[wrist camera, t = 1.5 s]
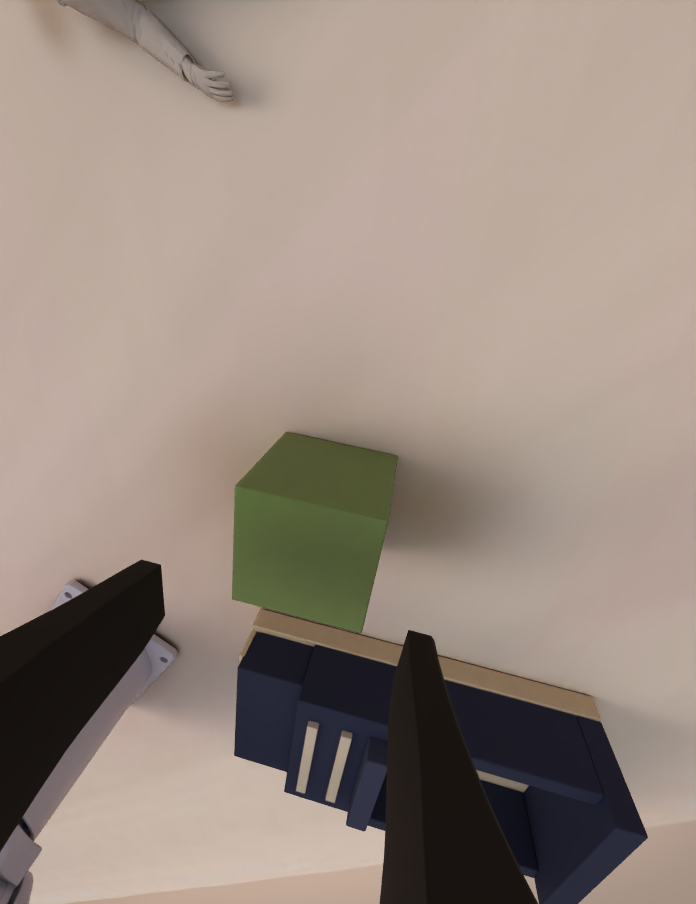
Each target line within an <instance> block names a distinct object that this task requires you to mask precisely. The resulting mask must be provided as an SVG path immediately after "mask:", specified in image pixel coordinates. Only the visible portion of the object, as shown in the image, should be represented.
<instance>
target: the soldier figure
mask: <svg viewBox="0 0 696 904" xmlns="http://www.w3.org/2000/svg"><path fill="white" fill-rule="evenodd" d="M57 1H58V3H59V4H60V5H62V6H63V7H65V6H66V5H67V6H70V7H72V8H74V9H75V10H77V11H79V12H81V13H83V14H85V15H87V16H89V17H91V18H93V19H95V20H98V21H100V22H102V23H103V24H105V25H106V26H108V27H110V28H112V29H115V30H118V31H120V32H121V33H123V34H124V35H126V36H128V37H129V38H130V39H132V40H133V41H134V42H136V43H138V44H139V45H140V47H141V48H142V49H143V50H145V51H147V52H148V53H150V54H151V55H152V56H153V57H155V58H156V59H158V60H159V61H161V62H162V63H164V64H165V65H166V66H168V67H169V68H171V69H172V70H173V71H174V72H175V73H176V74H177V75H179V76H180V77H181V78H183V79H184V80H185V81H187V82H191V83H192V84H193V85H194V86H195V87H196V88H198V89H200V90H202V91H203V92H204V93H206V94H207V95H208V96H209V97H211V98H213V99H216V100H218V101H222V102H227V101H233V98H232V97H231V96H230V95H233V93H232V92H231V91H230V90H219V89H226V88H229V87H230V84H229V83H228V82H216V81H214V80H212V79H211V78H220V77H224V73H223V72H222V71H207V70H205V69H203V68H202V67H201V66H200V65H198V64H196V62H195V59H194V58H193V57H192V55H191V54H189V52H188V51H187V50H186V49H185V48H184V47H183V46H182V45H181V43H180V42H179V41H178V40H177V39H176V38H175V37H174V36H173V35H172V34H171V32H170V31H169V30H168V29H167V28H166V27H165V25H164V24H163V23H162V22H161V21H160V20H158V19H157V18H156V16H155V15H153V14H152V13H150V12H148V10H147V9H146V7H145V6H144V5H142V4H141V3H140V2H138V1H136V0H57Z"/></svg>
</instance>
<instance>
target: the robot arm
mask: <svg viewBox="0 0 696 904" xmlns="http://www.w3.org/2000/svg"><path fill="white" fill-rule="evenodd" d="M164 616H165V610H164V598H163V585H162V573H161V565H160V564H156V563H152V562H148V561H144V560H140V561H138V562H136V563H135V564H133V565H131V566H129V567H127V568H126V569H124V570H122V571H120V572H119V573H117V574H115V575H113V576H112V577H110V578H108V579H106V580H105V581H103V582H101V583H99V584H98V585H96V586H94V587H92V588H91V589H88V588H86V587H85V586H83V585H82V584H80V583H79V582H77V581H70V582H69V583H67V584H66V585H65V586H64V588H63V590H62V591H61V593H60V595H59V596H58V598H57V600H56V602H55V603H54V605H53V607H52V608H51V610H50V611H49V612H47V613H45V614H43V615H41V616H39V617H37V618H35V619H33V620H31V621H29V622H28V623H26V624H24V625H22V626H20V627H18V628H16V629H14V630H12V631H10V632H8V633H6V634H4V635H2V636H0V904H29V901H30V895H31V891H32V886H33V875H32V873H31V872H29V871H28V870H29V868H30V867H31V865H32V864H33V862H34V861H35V859H36V858H37V856H38V855H39V853H40V852H41V850H42V847H40V846H39V845H38V844H36V843H35V842H34V840H35V839H36V838H37V836H38V835H39V833H40V832H41V830H42V829H43V828H44V826H45V825H46V823H47V822H48V820H49V819H50V818H51V816H52V815H53V813H54V812H55V810H56V809H57V808H58V806H59V805H60V803H61V802H62V800H63V799H64V798H65V796H66V795H67V793H68V792H69V790H70V789H71V788H72V786H73V785H74V783H75V782H76V780H77V779H78V778H79V776H80V775H81V773H82V772H83V770H84V769H85V768H86V766H87V765H88V763H89V762H90V760H91V759H92V758H93V756H94V755H95V753H96V752H97V750H98V749H99V748H100V746H101V745H102V743H103V742H104V740H105V739H106V738H107V736H108V735H109V733H110V732H111V730H112V729H113V728H114V726H115V725H116V723H117V722H118V721H119V719H120V718H121V716H122V715H123V713H124V712H125V711H126V709H127V708H128V707H129V706H130V705H131V704H132V703H133V702H134V701H135V700H136V699H137V698H138V697H139V696H140V695H141V694H142V693H143V692H144V691H145V690H146V689H147V688H148V687H149V686H150V685H151V684H152V682H153V681H154V680H155V679H156V678H157V677H158V676H159V675H160V674H161V673H162V672H163V671H164V670H165V669H166V668H167V667H168V666H169V665H170V664H171V663H172V662H173V661H174V660H175V658H176V657H177V655H178V653H177V650H176V649H175V648H174V647H172V646H171V645H169V644H168V643H166V642H165V641H163V640H162V639H161V638H159V637H158V636H156V635H155V634H154V633H155V631H156V630H157V628H158V626H159V625H160V623H161V621H162V620H163V618H164ZM380 904H538V903H537V901H536V899H535V897H534V895H533V893H532V891H531V889H530V887H529V885H528V883H527V881H526V879H525V878H524V875H523V873H522V871H521V869H520V867H519V865H518V863H517V861H516V859H515V857H514V854H513V852H512V850H511V848H510V846H509V844H508V842H507V840H506V838H505V835H504V833H503V831H502V829H501V827H500V824H499V822H498V820H497V818H496V816H495V814H494V811H493V809H492V807H491V804H490V802H489V800H488V798H487V795H486V793H485V790H484V788H483V786H482V783H481V781H480V778H479V776H478V773H477V771H476V768H475V766H474V763H473V761H472V758H471V756H470V753H469V751H468V748H467V745H466V743H465V740H464V737H463V734H462V732H461V729H460V726H459V723H458V720H457V717H456V714H455V712H454V709H453V706H452V703H451V700H450V697H449V693H448V690H447V687H446V684H445V680H444V677H443V674H442V670H441V666H440V663H439V659H438V655H437V651H436V647H435V642H434V639H433V638H432V636H429V635H426V634H422V633H418V632H414V631H410V630H408V633H407V636H406V640H405V643H404V646H403V649H402V652H401V655H400V659H399V662H398V665H397V668H396V671H395V674H394V678H393V684H392V692H391V701H390V710H389V719H388V747H387V789H386V831H385V850H384V863H383V874H382V886H381V896H380Z"/></svg>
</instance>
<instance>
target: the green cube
mask: <svg viewBox="0 0 696 904" xmlns="http://www.w3.org/2000/svg"><path fill="white" fill-rule="evenodd" d="M397 459H398V457H397V456H395V455H390V454H386V453H381V452H377V451H372V450H367V449H363V448H358V447H353V446H349V445H344V444H339V443H335V442H330V441H325V440H321V439H316V438H311V437H307V436H302V435H298V434H293V433H288V432H285V433H284V435H283V436H282V437H281V438H280V439H279V440H278V441H277V442H276V443H275V444H274V445H273V446H272V447H271V448H270V449H269V451H268V452H267V453H266V454H265V455H264V456H263V457H262V458H261V459H260V460H259V461H258V462H257V463H256V464H255V465H254V466H253V468H252V469H251V470H250V471H249V472H248V473H247V474H246V475H245V476H244V477H243V478H242V479H241V480H240V481H239V482H238V484H237V485H236V486H235V506H234V543H233V580H232V599H233V600H237V601H241V602H244V603H248V604H252V605H256V606H259V607H263V608H267V609H271V610H275V611H278V612H282V613H286V614H290V615H293V616H297V617H301V618H305V619H308V620H312V621H316V622H320V623H323V624H327V625H331V626H335V627H338V628H342V629H346V630H350V631H354V632H357V633H361V632H362V629H363V625H364V621H365V617H366V613H367V608H368V604H369V600H370V596H371V592H372V588H373V583H374V579H375V575H376V571H377V567H378V563H379V558H380V554H381V550H382V546H383V542H384V537H385V533H386V529H387V525H388V520H389V513H390V506H391V499H392V493H393V486H394V479H395V472H396V465H397Z"/></svg>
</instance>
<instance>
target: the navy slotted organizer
mask: <svg viewBox="0 0 696 904" xmlns="http://www.w3.org/2000/svg"><path fill="white" fill-rule="evenodd" d="M402 649H403V646H399V645H395V644H392V643H388V642H384V641H380V640H377V639H373V638H369V637H365V636H361V635H358V634H354V633H350V632H346V631H343V630H339V629H335V628H331V627H328V626H324V625H320V624H316V623H313V622H309V621H305V620H301V619H298V618H294V617H290V616H286V615H283V614H279V613H275V612H271V611H268V610H264V609H261V610H260V612H259V614H258V616H257V618H256V620H255V622H254V624H253V629H252V631H251V633H250V635H249V637H248V639H247V641H246V643H245V645H244V647H243V649H242V651H241V653H240V655H239V666H238V678H237V703H236V727H235V752H234V755H235V756H237V757H240V758H243V759H247V760H250V761H253V762H256V763H260V764H263V765H266V766H269V767H272V768H276V769H279V770H282V771H285V772H287V777H286V783H285V790H284V792H286V793H290V794H293V795H296V796H299V797H302V798H305V799H309V800H312V801H315V802H318V803H321V804H324V805H328V806H331V807H334V808H337V809H340V810H343V811H347V812H348V815H347V822H346V825H347V826H349V827H352V828H355V829H358V830H361V831H365V830H366V828H367V825H368V826H371V827H374V828H378V829H381V830H384V831H386V789H387V747H388V719H389V710H390V701H391V692H392V684H393V678H394V674H395V671H396V668H397V665H398V662H399V659H400V655H401V652H402ZM438 659H439V663H440V666H441V670H442V674H443V677H444V680H445V684H446V687H447V690H448V693H449V697H450V700H451V703H452V706H453V709H454V712H455V714H456V717H457V720H458V723H459V726H460V729H461V732H462V734H463V737H464V740H465V743H466V745H467V748H468V751H469V753H470V756H471V758H472V761H473V763H474V766H475V768H476V771H477V773H478V776H479V778H480V781H481V783H482V786H483V788H484V790H485V793H486V795H487V798H488V800H489V802H490V804H491V807H492V809H493V811H494V814H495V816H496V818H497V820H498V822H499V824H500V827H501V829H502V831H503V833H504V835H505V838H506V840H507V842H508V844H509V846H510V848H511V850H512V852H513V854H514V857H515V859H516V861H517V863H518V865H519V867H520V869H521V871H522V873H523V875H526V876H529V877H532V878H535V884H536V889H537V895H538V900H539V904H578V903H579V902H580V901H581V900H582V899H583V898H584V897H585V896H587V895H588V894H589V893H590V892H591V891H592V890H593V889H594V888H595V887H596V886H597V885H598V884H599V883H600V882H601V881H602V880H603V879H605V878H606V877H607V876H608V875H609V874H610V873H611V872H612V871H613V870H614V869H615V868H616V867H617V866H618V865H619V864H621V863H622V861H624V860H625V859H626V858H627V857H628V856H629V855H630V854H631V853H632V852H633V851H634V850H635V849H636V848H638V847H639V845H641V844H642V843H643V842H644V841H645V840H646V839H647V838H648V836H647V833H646V831H645V828H644V826H643V824H642V821H641V819H640V816H639V814H638V811H637V809H636V806H635V804H634V802H633V799H632V797H631V794H630V792H629V789H628V787H627V784H626V782H625V780H624V777H623V775H622V772H621V770H620V767H619V765H618V762H617V760H616V758H615V755H614V753H613V750H612V748H611V745H610V743H609V740H608V738H607V735H606V733H605V731H604V728H603V726H602V723H601V718H600V715H599V713H598V710H597V708H596V705H595V703H594V701H593V698H592V697H591V696H587V695H583V694H579V693H576V692H572V691H568V690H564V689H561V688H557V687H553V686H549V685H546V684H542V683H538V682H534V681H530V680H527V679H523V678H519V677H515V676H512V675H508V674H504V673H500V672H497V671H493V670H489V669H485V668H482V667H478V666H474V665H470V664H467V663H463V662H459V661H455V660H452V659H448V658H444V657H440V656H438Z"/></svg>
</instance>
